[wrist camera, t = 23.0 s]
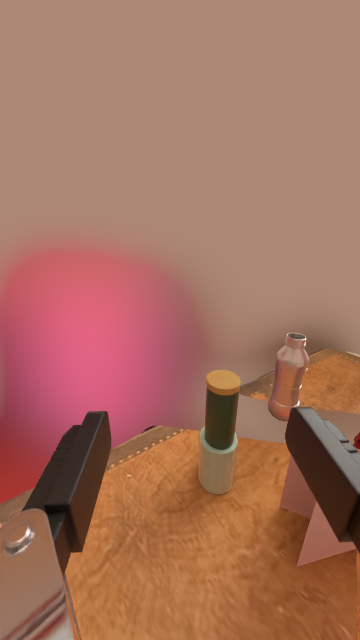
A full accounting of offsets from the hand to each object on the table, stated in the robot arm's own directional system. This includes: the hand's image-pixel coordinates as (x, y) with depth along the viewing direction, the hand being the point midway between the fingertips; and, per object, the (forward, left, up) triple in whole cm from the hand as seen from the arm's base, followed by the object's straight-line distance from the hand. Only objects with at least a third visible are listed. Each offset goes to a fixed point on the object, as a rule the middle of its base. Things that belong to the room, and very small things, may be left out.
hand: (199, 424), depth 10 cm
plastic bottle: (+24, +34, -32) cm, 52 cm away
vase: (+6, +20, -31) cm, 37 cm away
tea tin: (+6, +20, -22) cm, 30 cm away
